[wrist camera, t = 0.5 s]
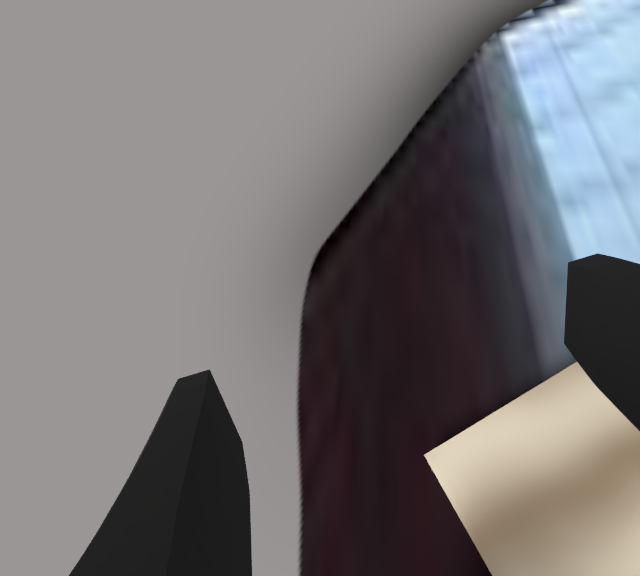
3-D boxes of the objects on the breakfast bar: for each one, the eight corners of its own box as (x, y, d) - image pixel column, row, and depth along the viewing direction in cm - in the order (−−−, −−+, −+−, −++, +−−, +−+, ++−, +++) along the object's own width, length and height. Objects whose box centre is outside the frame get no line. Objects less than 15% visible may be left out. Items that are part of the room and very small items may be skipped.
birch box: (823, 570, 19) (840, 563, 18) (572, 706, 20) (568, 710, 19) (610, 358, 27) (610, 341, 25) (434, 465, 28) (424, 455, 26)
